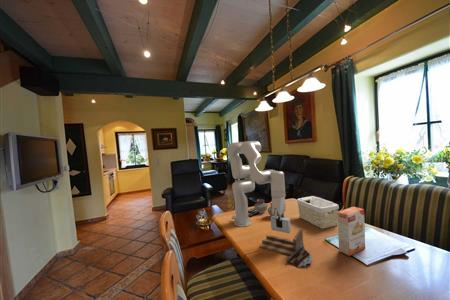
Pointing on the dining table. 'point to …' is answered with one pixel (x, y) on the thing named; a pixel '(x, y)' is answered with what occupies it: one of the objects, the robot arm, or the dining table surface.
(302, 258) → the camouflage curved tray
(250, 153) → the robot arm
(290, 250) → the track base
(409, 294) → the dining table surface
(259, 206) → the pottery
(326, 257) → the dining table surface
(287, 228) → the door slab
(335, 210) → the storage basket
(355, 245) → the cracker box
